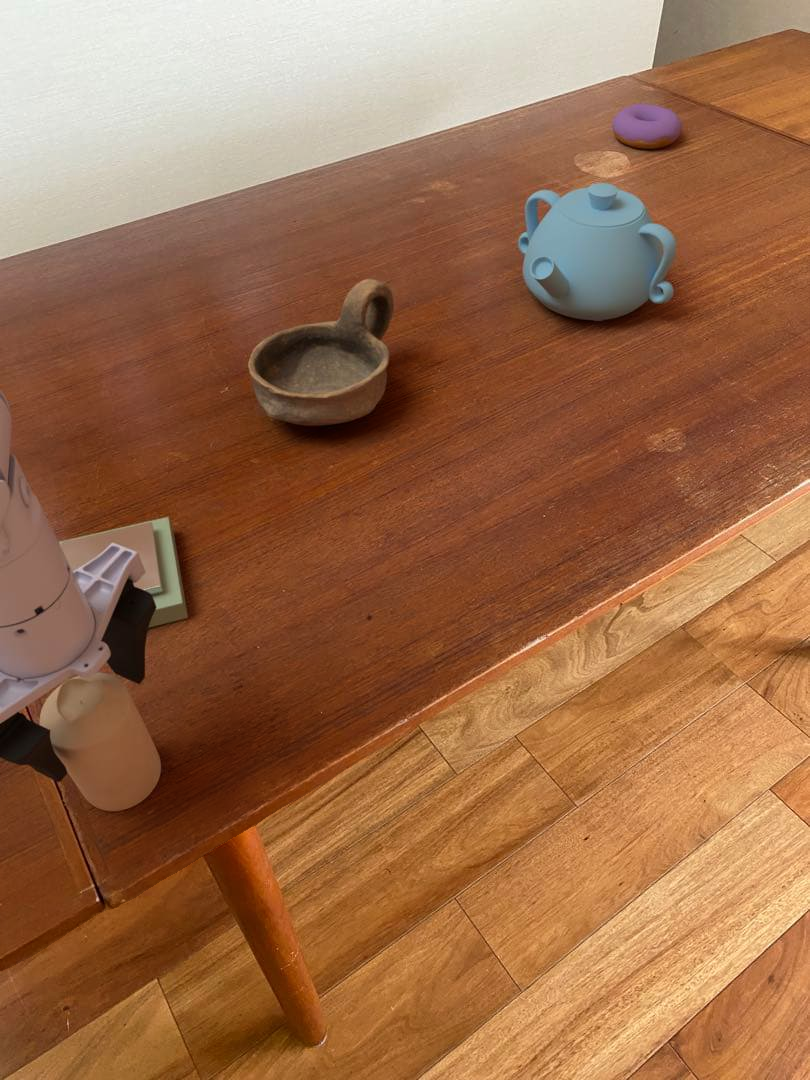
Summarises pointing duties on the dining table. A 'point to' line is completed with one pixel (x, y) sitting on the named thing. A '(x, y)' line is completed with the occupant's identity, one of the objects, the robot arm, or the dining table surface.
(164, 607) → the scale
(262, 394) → the bowl
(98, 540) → the thin square metal plate
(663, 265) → the teapot
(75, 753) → the candle
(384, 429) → the dining table surface
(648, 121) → the donut
